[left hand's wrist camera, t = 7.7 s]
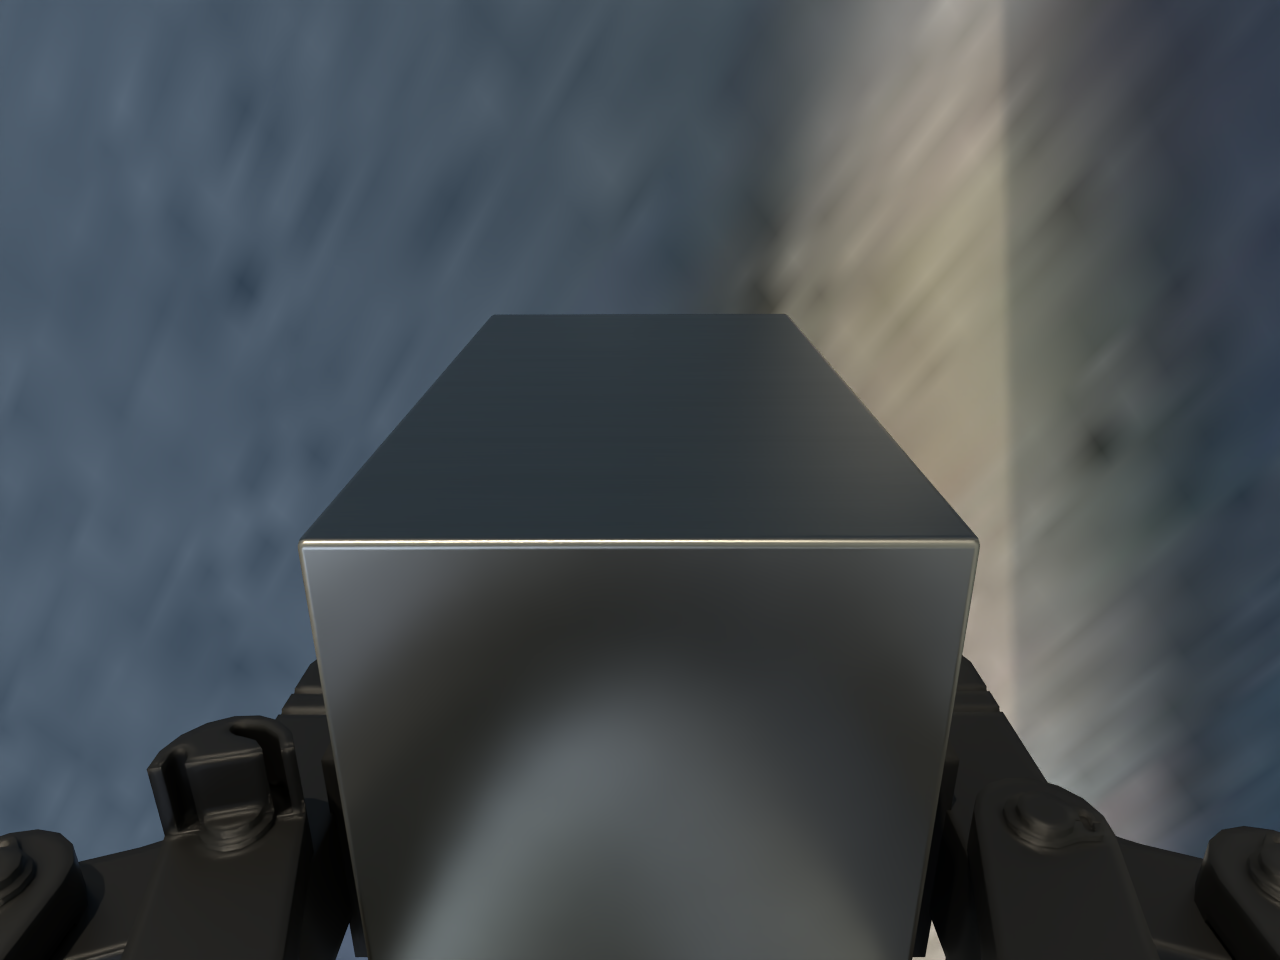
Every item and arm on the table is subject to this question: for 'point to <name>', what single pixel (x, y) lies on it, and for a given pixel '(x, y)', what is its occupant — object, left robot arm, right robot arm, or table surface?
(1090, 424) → the table surface
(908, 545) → the bar
